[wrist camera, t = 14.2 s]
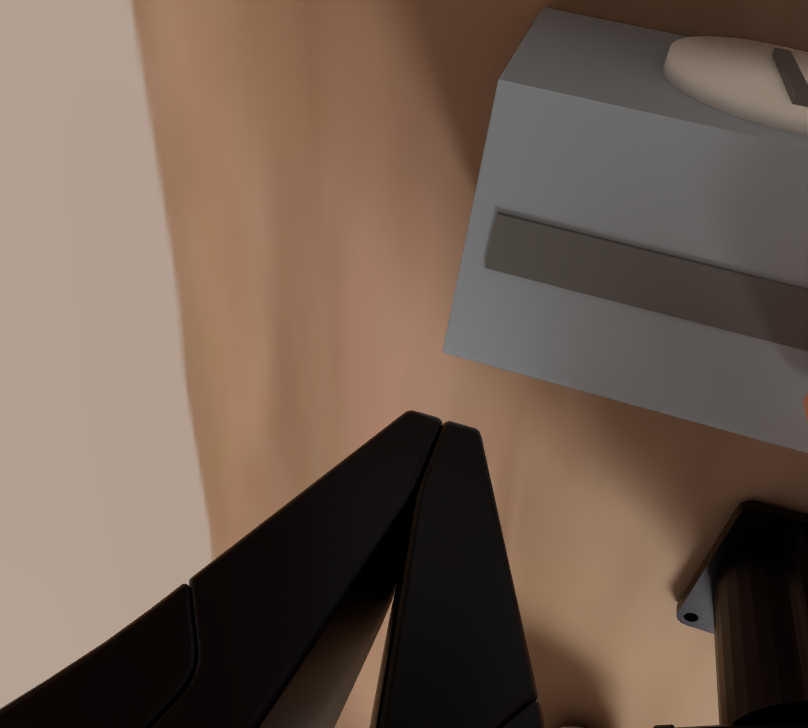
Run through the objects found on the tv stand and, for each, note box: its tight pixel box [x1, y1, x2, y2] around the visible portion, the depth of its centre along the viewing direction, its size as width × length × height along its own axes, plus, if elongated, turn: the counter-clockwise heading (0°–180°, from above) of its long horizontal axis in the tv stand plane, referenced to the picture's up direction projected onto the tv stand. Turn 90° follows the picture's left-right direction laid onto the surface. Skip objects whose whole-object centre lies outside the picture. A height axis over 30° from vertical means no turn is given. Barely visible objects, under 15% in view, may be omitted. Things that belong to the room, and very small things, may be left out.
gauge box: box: [443, 7, 808, 453], centre depth 16 cm, size 6×10×6 cm, turn 83°
